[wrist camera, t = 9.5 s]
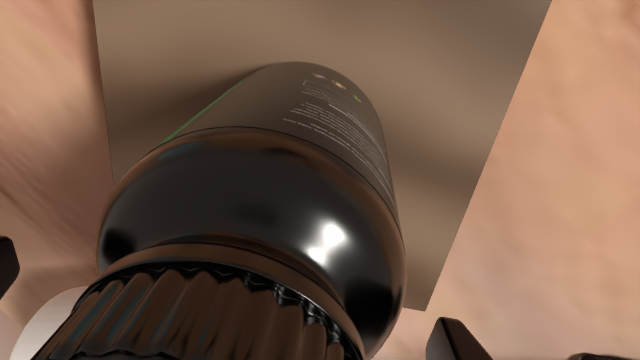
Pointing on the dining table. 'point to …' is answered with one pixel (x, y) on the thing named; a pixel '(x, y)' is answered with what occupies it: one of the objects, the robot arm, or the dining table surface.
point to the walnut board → (351, 61)
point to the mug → (45, 323)
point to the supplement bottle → (250, 234)
